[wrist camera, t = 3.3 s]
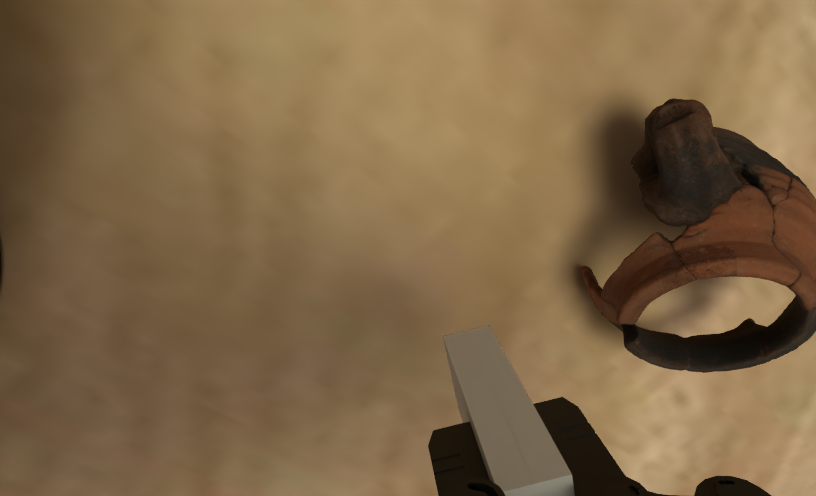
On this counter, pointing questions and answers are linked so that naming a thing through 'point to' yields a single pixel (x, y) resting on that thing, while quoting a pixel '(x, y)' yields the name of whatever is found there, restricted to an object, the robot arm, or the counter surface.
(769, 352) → the brown broken pot
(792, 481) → the counter surface
